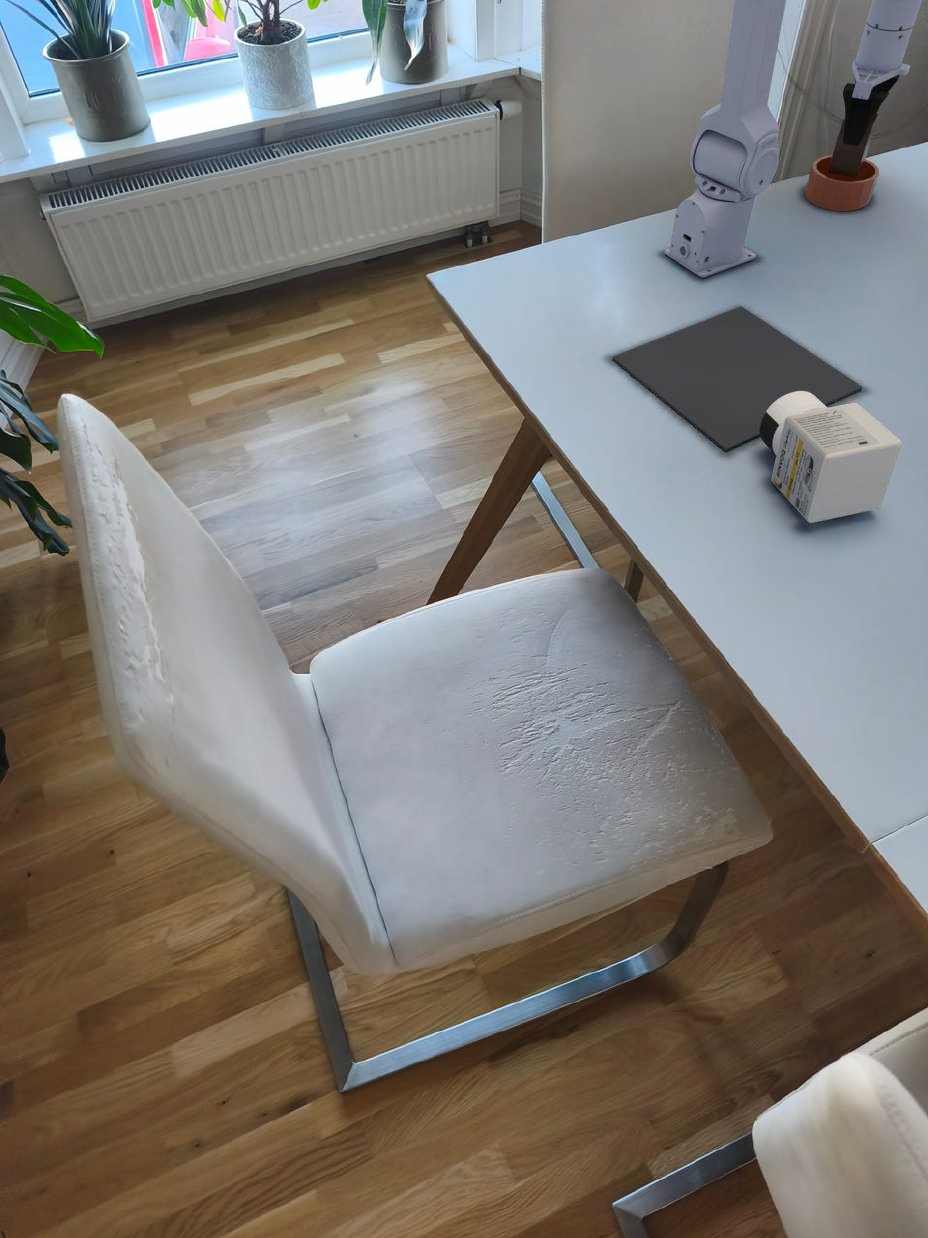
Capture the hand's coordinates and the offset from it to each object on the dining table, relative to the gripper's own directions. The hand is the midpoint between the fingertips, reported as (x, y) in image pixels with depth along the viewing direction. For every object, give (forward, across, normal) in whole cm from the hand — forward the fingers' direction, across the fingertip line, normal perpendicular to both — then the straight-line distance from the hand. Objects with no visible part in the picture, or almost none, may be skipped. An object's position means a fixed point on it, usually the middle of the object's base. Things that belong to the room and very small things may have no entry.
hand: (854, 137), depth 119 cm
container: (+3, -68, -18) cm, 70 cm away
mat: (+8, -49, -1) cm, 49 cm away
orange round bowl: (+8, 0, 0) cm, 8 cm away
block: (+4, 0, 0) cm, 4 cm away
